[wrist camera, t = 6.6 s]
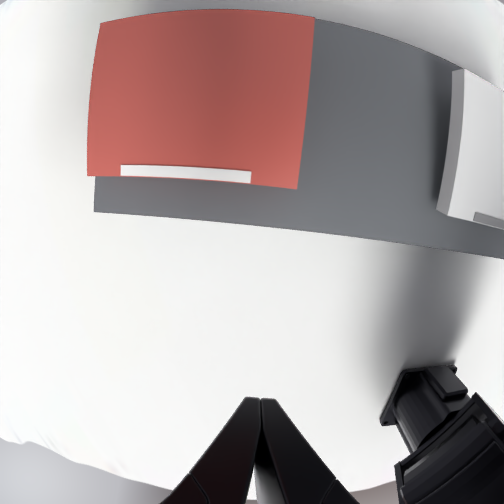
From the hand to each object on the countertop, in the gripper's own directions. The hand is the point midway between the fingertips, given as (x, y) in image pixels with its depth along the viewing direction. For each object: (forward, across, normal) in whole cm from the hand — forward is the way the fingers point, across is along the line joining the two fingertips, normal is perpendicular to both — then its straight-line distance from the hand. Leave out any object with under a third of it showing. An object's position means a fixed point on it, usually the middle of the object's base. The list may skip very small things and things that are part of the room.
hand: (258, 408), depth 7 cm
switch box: (+12, -5, -10) cm, 16 cm away
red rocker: (+6, +4, -10) cm, 12 cm away
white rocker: (+6, -14, -10) cm, 18 cm away
